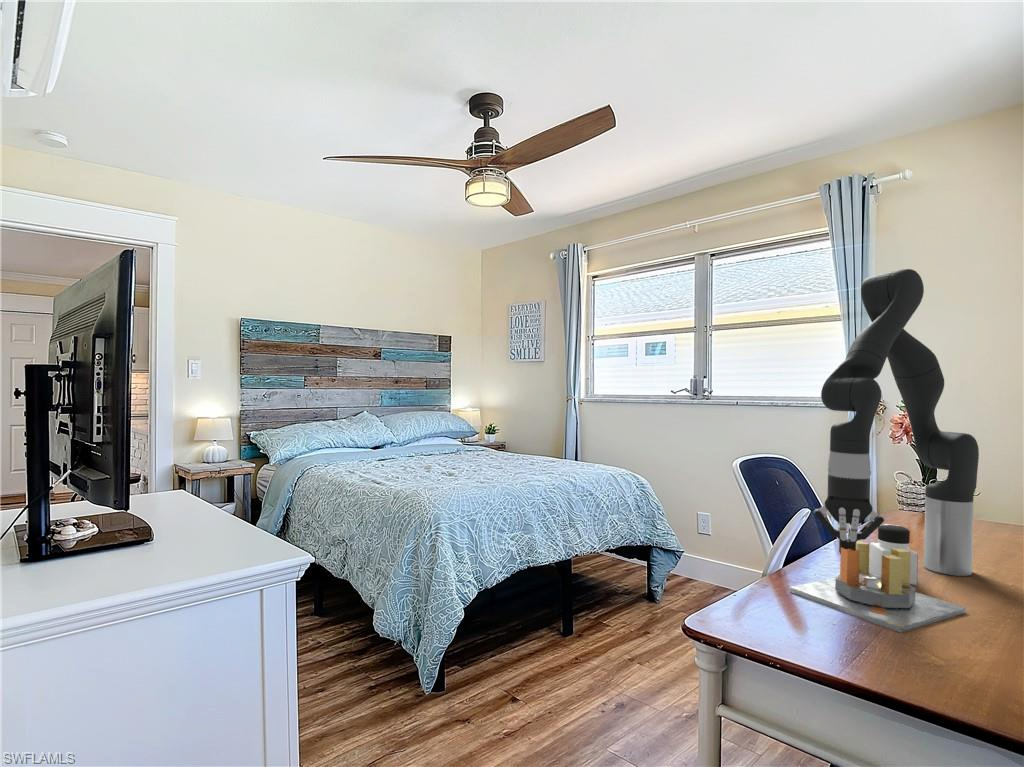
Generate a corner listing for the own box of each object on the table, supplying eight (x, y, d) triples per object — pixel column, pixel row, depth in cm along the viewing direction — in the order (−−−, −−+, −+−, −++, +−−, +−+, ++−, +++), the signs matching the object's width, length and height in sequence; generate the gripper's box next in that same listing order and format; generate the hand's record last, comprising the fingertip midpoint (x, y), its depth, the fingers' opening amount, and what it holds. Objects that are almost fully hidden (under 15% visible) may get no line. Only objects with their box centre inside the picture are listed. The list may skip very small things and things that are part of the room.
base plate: (853, 577, 131) (854, 555, 131) (965, 612, 112) (966, 586, 112) (789, 591, 121) (790, 568, 121) (900, 632, 101) (901, 604, 101)
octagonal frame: (848, 580, 125) (849, 537, 125) (919, 596, 116) (920, 550, 116) (829, 594, 116) (830, 548, 116) (904, 613, 107) (905, 563, 107)
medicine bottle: (917, 585, 127) (918, 531, 127) (882, 582, 128) (883, 528, 128) (902, 575, 134) (903, 523, 134) (869, 572, 135) (870, 521, 135)
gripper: (883, 474, 119) (881, 557, 119) (811, 469, 125) (809, 549, 125) (890, 479, 112) (888, 568, 112) (814, 474, 118) (812, 558, 118)
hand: (846, 558), depth 118 cm, fingers closed
